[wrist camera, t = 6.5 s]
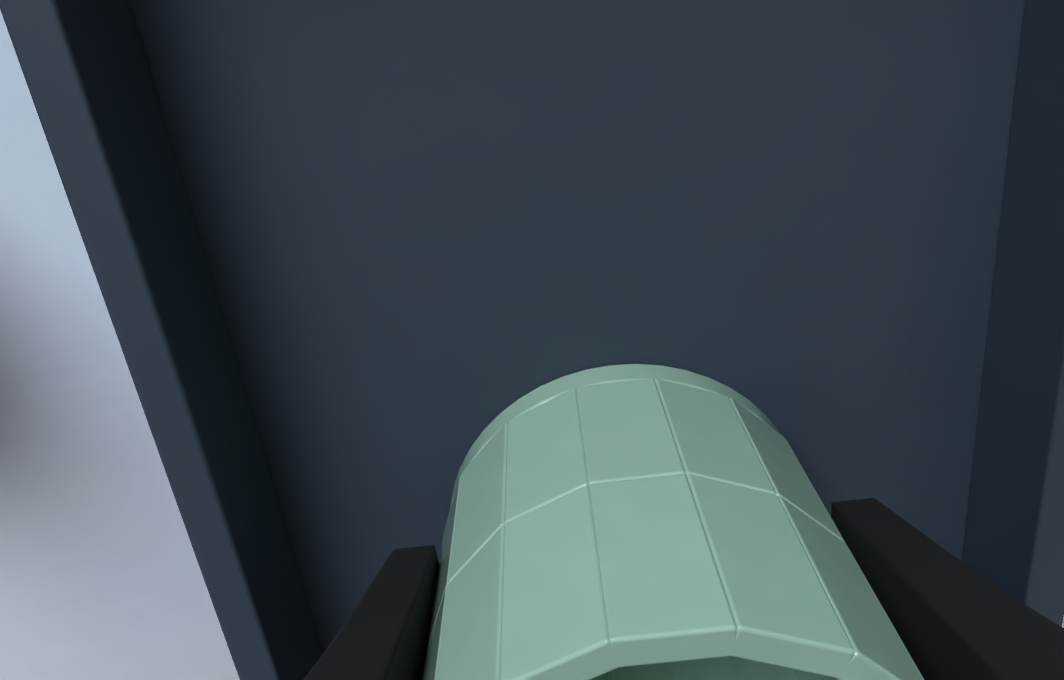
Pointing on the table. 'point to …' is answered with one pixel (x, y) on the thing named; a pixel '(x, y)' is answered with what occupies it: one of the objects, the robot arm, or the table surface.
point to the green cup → (648, 545)
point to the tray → (563, 254)
